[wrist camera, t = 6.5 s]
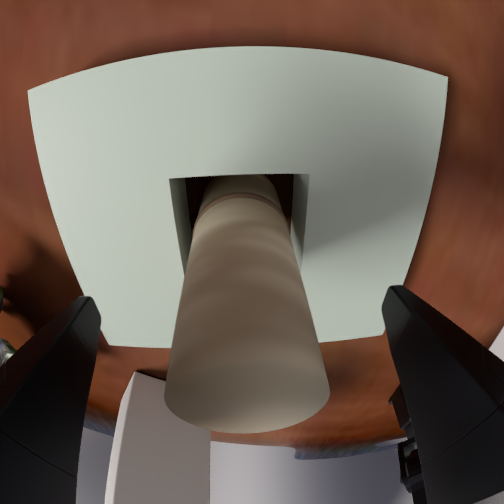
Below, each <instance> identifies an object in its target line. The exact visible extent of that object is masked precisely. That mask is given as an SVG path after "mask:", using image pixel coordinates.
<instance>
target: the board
mask: <svg viewBox="0 0 504 504" xmlns="http://www.w3.org/2000/svg"><path fill="white" fill-rule="evenodd" d="M447 84H448V77H446V76H443V75H440V74H437V73H433V72H430V71H427V70H423V69H420V68H416V67H413V66H409V65H405V64H401V63H397V62H392V61H388V60H383V59H378V58H373V57H368V56H363V55H357V54H350V53H344V52H336V51H328V50H319V49H308V48H295V47H271V46H240V47H217V48H203V49H193V50H183V51H175V52H168V53H161V54H155V55H149V56H143V57H138V58H133V59H128V60H124V61H119V62H115V63H111V64H106V65H103V66H99V67H95V68H91V69H88V70H84V71H81V72H78V73H75V74H71V75H68V76H65V77H62V78H59V79H56V80H54V81H51V82H48V83H45V84H43V85H40V86H38V87H35V88H33V89H30V90H28V99H29V107H30V114H31V121H32V127H33V133H34V138H35V144H36V149H37V153H38V158H39V163H40V167H41V171H42V175H43V179H44V183H45V187H46V191H47V194H48V198H49V201H50V205H51V208H52V211H53V214H54V218H55V221H56V224H57V227H58V230H59V233H60V236H61V238H62V241H63V244H64V247H65V249H66V252H67V255H68V257H69V260H70V262H71V265H72V267H73V270H74V272H75V275H76V277H77V280H78V282H79V284H80V287H81V289H82V291H83V293H84V296H91V297H92V298H93V299H94V301H95V304H96V306H97V308H98V310H99V312H100V315H101V328H100V329H101V331H102V333H103V334H104V336H105V338H106V340H107V342H108V344H109V345H115V346H131V347H153V348H171V346H172V341H173V335H174V329H175V323H176V318H177V313H178V307H179V302H180V297H181V292H182V287H183V282H184V277H185V272H186V267H187V262H188V258H189V253H190V249H191V244H192V232H191V225H190V217H189V209H188V201H187V192H186V183H185V177H199V176H218V175H243V174H294V181H293V201H292V218H291V234H290V239H291V242H292V245H293V249H294V252H295V256H296V260H297V263H298V267H299V270H300V274H301V277H302V281H303V285H304V288H305V292H306V296H307V300H308V303H309V307H310V311H311V315H312V319H313V323H314V326H315V330H316V334H317V338H318V342H319V343H320V342H330V341H339V340H347V339H356V338H363V337H371V336H378V335H383V332H384V330H385V324H384V320H383V316H382V311H381V307H382V303H383V300H384V297H385V295H386V292H387V289H388V287H389V286H391V285H403V283H404V280H405V277H406V274H407V272H408V269H409V266H410V263H411V260H412V257H413V254H414V251H415V247H416V244H417V241H418V238H419V234H420V231H421V227H422V224H423V220H424V217H425V213H426V209H427V205H428V201H429V197H430V193H431V189H432V184H433V180H434V175H435V170H436V165H437V160H438V155H439V149H440V143H441V137H442V130H443V123H444V115H445V106H446V96H447Z"/></svg>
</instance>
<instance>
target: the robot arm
mask: <svg viewBox="0 0 504 504" xmlns="http://www.w3.org/2000/svg"><path fill="white" fill-rule="evenodd" d="M381 311H382V316H383V320H384V324H385V328H386V333H387V337H388V342H389V346H390V351H391V355H392V358H393V361H394V364H395V367H396V371H397V374H398V377H399V380H400V386H399V387H398V388H397V390H396V391H395V392H394V394H393V395H392V397H391V398H390V399H389V401H388V402H389V404H390V405H391V404H393V406H394V410H395V413H396V416H397V419H398V422H399V425H400V428H401V429H402V430H403V429H405V432H406V435H407V439H408V440H406V441H404V442H400V443H398V447H397V449H398V456H399V462H400V471H401V472H400V482H401V484H403V485H405V487H406V489H407V491H408V492H409V493H412V496H413V502H414V504H504V362H503V361H502V360H501V359H499V358H498V357H497V356H496V355H494V354H493V353H492V352H491V351H489V350H488V349H487V348H486V347H484V346H482V344H481V343H479V342H478V341H477V340H475V339H474V338H473V337H472V336H470V335H469V334H468V333H466V332H465V331H464V330H463V329H461V328H460V327H459V326H457V325H456V324H455V323H453V322H452V321H451V320H449V319H448V318H447V317H445V316H444V315H443V314H441V313H440V312H439V311H437V310H436V309H435V308H433V307H432V306H431V305H429V304H428V303H426V302H425V301H424V300H422V299H421V298H420V297H418V296H417V295H415V294H414V293H413V292H411V291H410V290H408V289H407V288H405V287H404V286H402V285H391V286H389V287H388V289H387V292H386V295H385V297H384V300H383V303H382V307H381ZM100 328H101V315H100V312H99V310H98V308H97V306H96V304H95V301H94V299H93V298H92V297H91V296H79V297H78V298H77V299H75V300H74V301H73V302H72V303H71V304H69V305H68V306H67V307H66V308H65V309H63V310H62V311H61V312H60V313H59V314H58V315H56V316H55V317H54V318H53V319H52V320H51V321H49V322H48V323H47V324H46V325H45V326H44V327H43V328H41V329H40V330H39V331H38V332H37V333H36V334H35V335H34V336H32V337H31V338H30V339H29V340H28V341H27V342H26V343H25V344H24V345H23V346H21V347H20V348H19V349H18V350H17V351H16V352H15V353H14V354H13V355H12V356H11V357H10V358H9V359H8V360H6V363H3V364H2V365H1V366H0V504H76V487H77V473H78V462H79V453H80V445H81V438H82V431H83V424H84V418H85V412H86V407H87V401H88V396H89V391H90V386H91V381H92V377H93V372H94V367H95V362H96V355H97V348H98V341H99V334H100Z"/></svg>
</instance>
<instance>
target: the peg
mask: <svg viewBox="0 0 504 504" xmlns="http://www.w3.org/2000/svg"><path fill="white" fill-rule="evenodd" d="M329 396H330V388H329V384H328V379H327V375H326V371H325V367H324V363H323V358H322V354H321V350H320V346H319V342H318V338H317V334H316V330H315V326H314V323H313V319H312V315H311V311H310V307H309V303H308V300H307V296H306V292H305V288H304V285H303V281H302V277H301V274H300V270H299V267H298V263H297V260H296V256H295V252H294V249H293V245H292V242H291V239H290V231H289V227H288V224H287V221H286V218H285V216H284V214H283V211H282V208H281V205H280V201H279V198H278V195H277V192H276V189H275V187H274V185H273V184H272V182H271V181H270V180H269V179H268V178H267V177H266V176H265V175H264V174H243V175H218V176H215V177H214V178H212V179H211V181H210V182H209V183H208V185H207V186H206V188H205V191H204V194H203V198H202V202H201V206H200V210H199V214H198V217H197V219H196V222H195V225H194V229H193V236H192V244H191V249H190V253H189V258H188V262H187V267H186V272H185V277H184V282H183V287H182V292H181V297H180V302H179V307H178V313H177V318H176V323H175V329H174V335H173V341H172V346H171V353H170V359H169V365H168V372H167V378H166V385H165V392H164V401H165V403H166V406H167V407H168V408H169V410H170V411H171V412H172V413H173V414H175V415H176V416H177V417H179V418H180V419H182V420H184V421H186V422H188V423H190V424H192V425H195V426H198V427H201V428H204V429H208V430H213V431H219V432H227V433H259V432H267V431H273V430H278V429H282V428H285V427H289V426H292V425H295V424H297V423H300V422H302V421H304V420H306V419H308V418H310V417H311V416H313V415H314V414H316V413H317V412H318V411H320V410H321V409H322V408H323V407H324V405H325V404H326V403H327V401H328V399H329Z"/></svg>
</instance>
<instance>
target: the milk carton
mask: <svg viewBox="0 0 504 504" xmlns="http://www.w3.org/2000/svg"><path fill="white" fill-rule="evenodd" d="M165 385H166V381H163V380H159V379H156V378H153V377H150V376H147V375H144V374H141V373H138V372H134V374H133V376H132V378H131V380H130V382H129V384H128V386H127V389H126V391H125V393H124V395H123V397H122V400H121V405H120V409H119V414H118V419H117V424H116V430H115V435H114V440H113V446H112V452H111V459H110V465H109V471H108V479H107V486H106V494H105V503H104V504H210V436H211V430H208V429H204V428H201V427H198V426H195V425H192V424H190V423H188V422H186V421H184V420H182V419H180V418H179V417H177V416H176V415H175V414H173V413H172V412H171V411H170V410H169V408H168V407H167V406H166V403H165V401H164V392H165Z"/></svg>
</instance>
